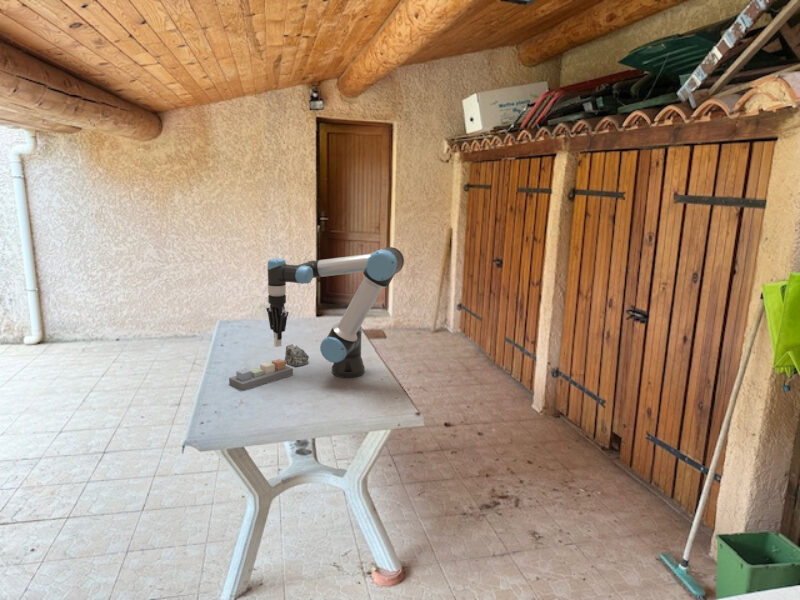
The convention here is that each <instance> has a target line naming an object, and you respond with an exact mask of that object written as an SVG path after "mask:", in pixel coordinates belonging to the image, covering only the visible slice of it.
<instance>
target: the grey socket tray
mask: <svg viewBox="0 0 800 600" xmlns="http://www.w3.org/2000/svg"><path fill="white" fill-rule="evenodd" d="M293 375H294V368H293V367H290V366H289V365H288V366H287V365H286V368H285V369H282V370H279V371H277V370H275V372H272V373H269V374H265V373H263V375H262V376H259V377H256V378H254V377H251V379H249V380H246V381H243V382H242V381H240V380H238V379H236V375H235V376H231V377H228V384H229V386H231V387H234V388H236V389H237V390H239V391H241V392H243V391H244V392H245V391H246V390H250V389H254V388H256V387H260V386H263V385H267V384H268V383H269V384H270V383H272V382H275V381H280V380H282V379H284V378H287V377H291V376H293Z"/></svg>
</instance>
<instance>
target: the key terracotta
mask: <svg viewBox="0 0 800 600" xmlns="http://www.w3.org/2000/svg"><path fill="white" fill-rule="evenodd" d="M271 363H273V364H275V370H277V371H279V370H282V369H285V368H286V366H287V363H286V361H284V359H281V358H278V359H275V360H272V361H271Z"/></svg>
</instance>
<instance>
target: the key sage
mask: <svg viewBox="0 0 800 600" xmlns="http://www.w3.org/2000/svg"><path fill="white" fill-rule="evenodd" d="M249 370H250V371H251V377H254V378H256V377H259V376H262V375H263V370H261V369H260V368H258V367H257V368H252V369H249Z"/></svg>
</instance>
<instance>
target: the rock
mask: <svg viewBox="0 0 800 600" xmlns="http://www.w3.org/2000/svg"><path fill="white" fill-rule="evenodd" d="M309 358H310V357H309V355H308V354H307V352H305V350H304V349H302V348H301V347H299V346H298V345H294V344H288V345H286V347H285V356H284V359H283V360H284V361H286V365H288V366H293V367H294V366H296V367H299V366H304V365H308V364H309Z"/></svg>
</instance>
